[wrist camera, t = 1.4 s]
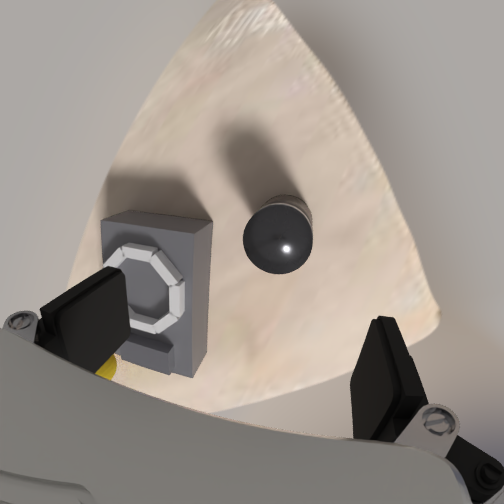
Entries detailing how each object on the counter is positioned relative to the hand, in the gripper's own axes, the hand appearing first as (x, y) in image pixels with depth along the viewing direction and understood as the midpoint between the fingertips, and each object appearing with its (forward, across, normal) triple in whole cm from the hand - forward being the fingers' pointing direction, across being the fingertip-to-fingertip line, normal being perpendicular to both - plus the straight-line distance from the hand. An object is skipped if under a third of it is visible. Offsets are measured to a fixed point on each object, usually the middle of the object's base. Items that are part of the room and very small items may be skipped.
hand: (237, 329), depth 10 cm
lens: (+19, 0, 0) cm, 19 cm away
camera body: (+19, +12, +9) cm, 24 cm away
